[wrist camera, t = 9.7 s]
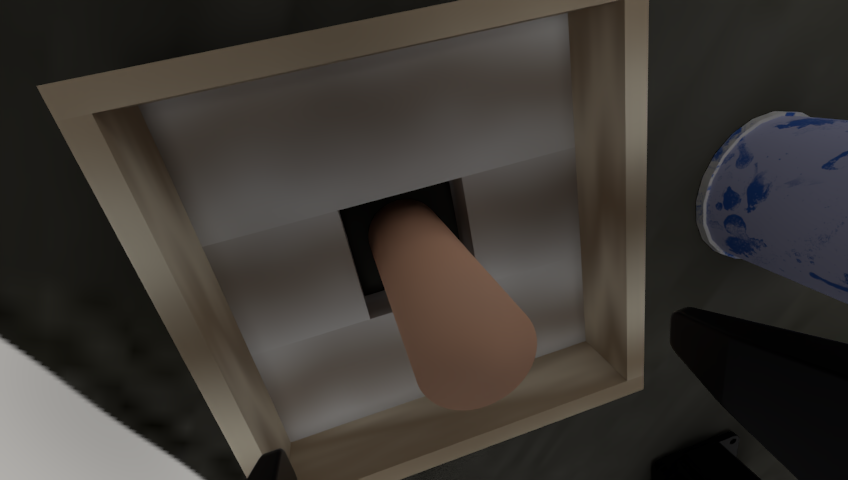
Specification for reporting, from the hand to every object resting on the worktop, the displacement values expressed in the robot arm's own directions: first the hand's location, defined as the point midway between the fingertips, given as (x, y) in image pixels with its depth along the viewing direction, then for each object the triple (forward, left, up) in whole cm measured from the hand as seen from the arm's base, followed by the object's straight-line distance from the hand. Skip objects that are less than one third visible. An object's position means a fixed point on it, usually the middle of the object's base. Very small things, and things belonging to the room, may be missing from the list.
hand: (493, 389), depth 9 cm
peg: (0, 0, -10) cm, 10 cm away
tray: (0, 0, -10) cm, 10 cm away
